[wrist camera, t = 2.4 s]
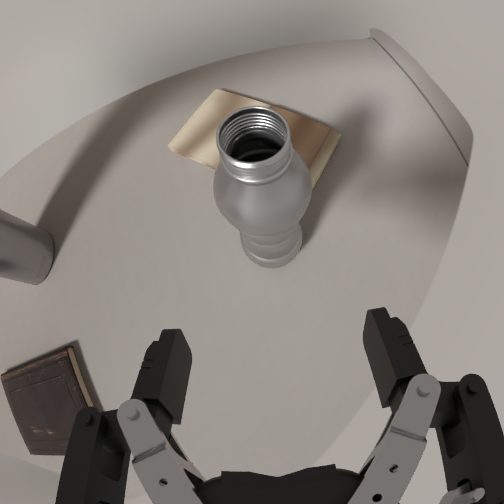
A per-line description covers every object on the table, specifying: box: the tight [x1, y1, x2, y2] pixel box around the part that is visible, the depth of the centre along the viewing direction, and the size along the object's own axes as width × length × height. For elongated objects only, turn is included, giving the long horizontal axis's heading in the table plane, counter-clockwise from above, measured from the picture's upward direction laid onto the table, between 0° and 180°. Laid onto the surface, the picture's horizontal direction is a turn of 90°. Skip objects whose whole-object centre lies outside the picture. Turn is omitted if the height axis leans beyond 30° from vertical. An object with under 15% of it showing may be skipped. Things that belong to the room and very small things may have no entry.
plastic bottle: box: [213, 106, 312, 268], centre depth 22 cm, size 6×7×20 cm
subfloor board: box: [168, 89, 342, 190], centre depth 34 cm, size 20×12×1 cm, turn 59°
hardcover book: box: [1, 346, 94, 455], centre depth 29 cm, size 16×23×2 cm
